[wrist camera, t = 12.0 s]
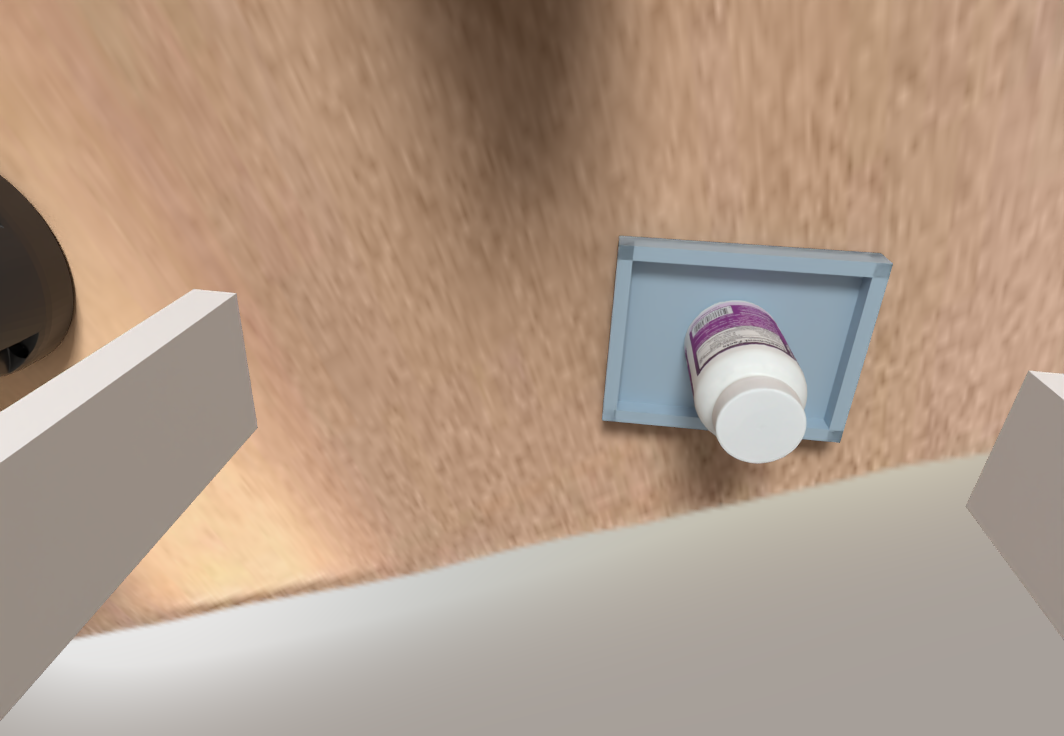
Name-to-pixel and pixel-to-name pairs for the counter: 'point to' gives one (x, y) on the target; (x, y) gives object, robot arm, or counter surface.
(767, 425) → the pill bottle
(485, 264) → the counter surface
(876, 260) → the tray
